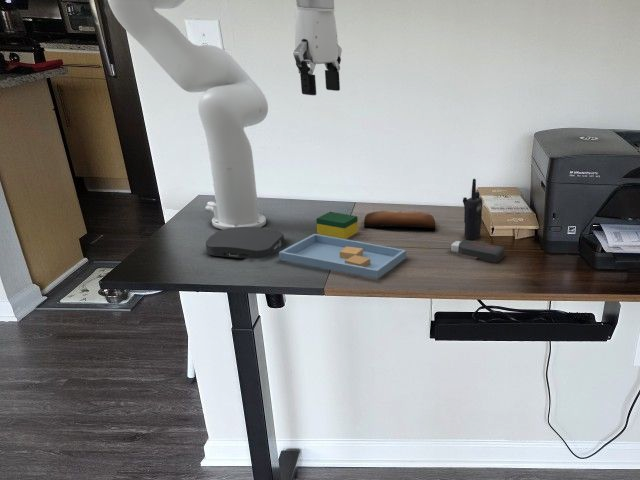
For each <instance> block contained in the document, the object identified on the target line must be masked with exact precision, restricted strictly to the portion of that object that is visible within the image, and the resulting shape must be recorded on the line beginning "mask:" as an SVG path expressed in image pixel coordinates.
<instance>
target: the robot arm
mask: <svg viewBox="0 0 640 480" xmlns="http://www.w3.org/2000/svg"><path fill="white" fill-rule="evenodd" d="M185 1H186V0H107V2H108V6H109V8H110V10H111V12H112V14H113V15H114V18H115V20H117V22H118V23H119V24H120V25H121V26H122V27H123V29H124V30H125V31H126V32H127V33H128V34H129V35H130V36H131V37H132V38H133V39H134V40H135V41H137V43H138V44H140V45H141V46H142V47H143V48H144V50H146V52H147V53H148V54H149V55H150V56H151V58H153V60H154V61H155V62H156V63H157V64H158V65H159V66H160V67H161V68H162V70H163V71H164V72H166V74H167V75H168V76H169V77H170V78H171V79H172V81H174V83H175V84H176V85H177V86H178V87H180V89H182V90H184V91H186V92H188V93H202V94H201V96H200V98H199V100H198V103H197V105H198V107H197V108H198V109H197V110H198V114H199V118H200V121H201V124H202V127H203V130H204V134H205V138H206V142H207V143H206V144H207V149H208V156H209V161H210V168H211V177H212V183H213V184H212V185H213V190H214V191H213V192H214V198H215V201H207V204H206V205H205V207H204V210H205V212H209V213H213V217H212V218H211V224H212V226H213V227H214V228H216V229H219V230H222V229H227V228H234V227H262V228H263V227H264V226H265V225H266V224H267V217H266V216H265V215H263V214H260V212H259V203H258V202H259V201H258V194H257V193H258V192H257V183H256V174H255V165H254V155H253V150H252V146H251V142H250V139H249V137H248V136H247V133H246V131H245V128H247V127H252V126H255V125H258V124H260V123H262V122H263V121H264V120H265V119H266V117H267V116H268V112H269V104H268V99H267V98H266V96H265V93H264V92H263V91H262V89H261V88H260V87H259V86H258V84H257V83H256V82H255V81H254V80H253V79H252V77H251V76H250V75H249V74H248V73H247V72H246V70H244V68H243V67H242V66H241V65H240V64H239V63H238V62H237V61H236V60H235V59H234V57H233V56H232V55H230V53H229V52H228V51H226V50H224V49H222V48H220V47H218V46H216V45H207V44H206V45H205V44H203V45H197V44H194V43H193V42H191V41H190V40H189V39H188V38H187V36H185V35H184V34H183V33H182V32H181V31H180V29H179V28H178V27H177V26H176V25H175V24H174V23H173V22H172V21H170V19H168V18H166V17H165V16H164V15H162V14H161V13H159V12H158V11H157V10H156V9H159V10H160V9H161V10H162V9H168V10H169V9H170V10H171V9H175V8H178V7H180V6H181V5H182V4H183V3H184V2H185ZM295 3H296V9H295V15H294V50H293V52H292V54H293V58H294V60H295V66H296V67H297V71H298V74H299V75H300V76H299V77H300V88H301V94H302V95H306V96H317V81H316V74H314V71H315V68H316V65H322V64H324V66H325V68H326V69H325V70H324V79H325V89H326V90H327V91H335V92H339V91H340V90H341V84H340V83H341V81H340V70H341V66H340V65H341V62H342V59H341V57H342V52H343V49H342V47H341V46H340V45H339V39H338V31H337V24H336V17H335V0H295Z"/></svg>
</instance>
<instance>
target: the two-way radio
mask: <svg viewBox="0 0 640 480" xmlns="http://www.w3.org/2000/svg"><path fill="white" fill-rule="evenodd" d="M462 203H463V207H464V213H463V214H464V215H463V216H464V217H463V220H464V221H463V222H464V234H463V235H464V238H465V239H466V240H470V241H473V240H476V239H478V238H479V237H480V236H481V231H482V228H481V227H482V216H483V199H482V198H481V196H480V192H479V191H477V179H476V178H472V185H471V197H469V198H468V197H466V196H465V197H462Z"/></svg>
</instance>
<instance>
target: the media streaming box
mask: <svg viewBox="0 0 640 480" xmlns="http://www.w3.org/2000/svg"><path fill="white" fill-rule="evenodd" d="M284 244H285V234H284V233H283V232H281V231H279V230H277V229H274V228H268V227H263V226H262V227H234V228H227V229H219V230H217V231H215V232H214V233H213V234H211V235H210V236H209V237H208V238H207V239H206V240H205V248H206V253H207V254H208V255H211V256H215V257H225V258H233V259H264V258H268V257H271V256H272V255H273V254H275V253H276V252H277V251H278V250H279V249H280V248H282V246H283V245H284Z"/></svg>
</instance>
